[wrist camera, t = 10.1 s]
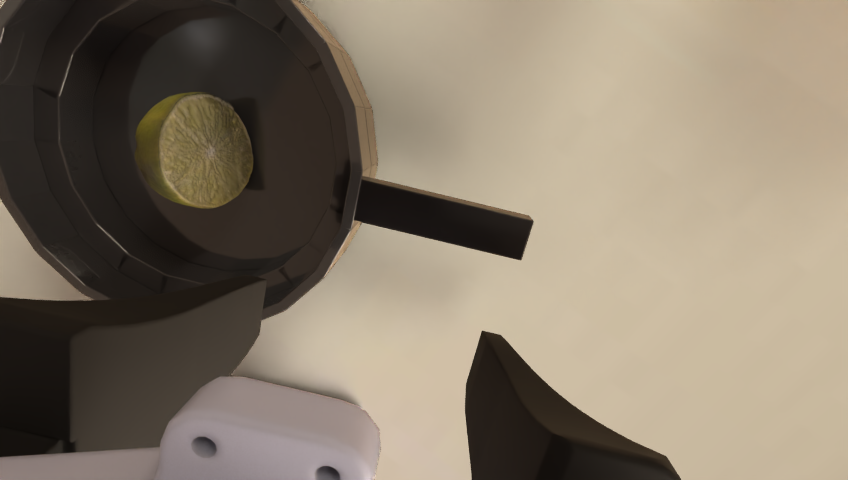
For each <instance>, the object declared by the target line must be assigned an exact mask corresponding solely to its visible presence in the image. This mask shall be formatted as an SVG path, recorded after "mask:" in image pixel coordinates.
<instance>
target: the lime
mask: <svg viewBox="0 0 848 480" xmlns="http://www.w3.org/2000/svg"><path fill="white" fill-rule="evenodd" d="M135 137H136V145H137V146H136V150H135V161H136V163H137V165H138V167H139V169H140V170H141V172H142V175H143V177H144V179H145V181H146V182H147V183H148V185H149V186H150V187H151V188H152V189H154V190H155V191H156V192H157V193H158V194H160V195H162V196H163V197H165V198H167V199H169V200H171V201H173V202H176V203H179V204H183V205H187V206H192V207H196V208H216V207H219V206H222V205H224V204H226V203H228V202H229V201H231V200H232V199H234V198H235V197H237V196H238V195H239V194H240V193H241V192H242V190H243V189H244V187H245V186H246V185H247V183H248V181H249V178H250V174H251V173H252V170H253V155H252V148H251V141H250V138H249V135H248V133H247V130H246V128H245V126H244V124H243V122H242V121H241V119H240V118H239V115H238V114H237V113H235V111H234V108H233V106H232V105H231V104H230V103H228V102H226V101H225V100H222V99H221V98H220V97H218V96H215V95H212V94H210V93H203V92H190V93H182V94H176V95H173V96H169V97H167V98H165V99H164V100H162V101H161V102H159V103H157V104H156V105H155V106H153V107H152V108H151V109H150V110H149V111H148V112H147V114H146V115H145V116H144V118H143V119H142V120H141V121H140V123H139V125H138V127H137V130H136V135H135Z"/></svg>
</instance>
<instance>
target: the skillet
mask: <svg viewBox="0 0 848 480" xmlns="http://www.w3.org/2000/svg"><path fill="white" fill-rule="evenodd" d="M190 92H203V93H210V94H212V95H215V96H218V97H220V98H221V99H222V100H225V101H226V102H228V103H230V104H231V105H232V106H233V108H234V111H235V113H237V114H238V115H239V118H240V119H241V121H242V122H243V124H244V126H245V128H246V130H247V133H248V135H249V138H250V141H251V148H252V155H253V170H252V173H251V174H250V178H249V181H248V183H247V185H246V186H245V187H244V189H243V190H242V192H241V193H240V194H239V195H238V196H237V197H235V198H234V199H232V200H231V201H229V202H228V203H226V204H224V205H222V206H219V207H216V208H196V207H192V206H187V205H183V204H179V203H176V202H173V201H171V200H169V199H167V198H165V197H163V196H162V195H160V194H158V193H157V192H156V191H155V190H154V189H152V188H151V187H150V186H149V185H148V183H147V182H146V181H145V179H144V177H143V175H142V172H141V170H140V169H139V167H138V165H137V163H136V161H135V150H136V146H137V145H136V137H135V135H136V130H137V127H138V125H139V123H140V121H141V120H142V119H143V118H144V116H145V115H146V114H147V112H148V111H149V110H150V109H151V108H152V107H153V106H155V105H156V104H157V103H159V102H161V101H162V100H164V99H165V98H167V97H169V96H173V95H176V94H182V93H190ZM377 166H378V155H377V146H376V137H375V128H374V119H373V110H372V107H371V104H370V102H369V100H368V97H367V95H366V93H365V90H364V88H363V86H362V83H361V81H360V79H359V76H358V74H357V72H356V69H355V67H354V65H353V63H352V60H351V58H350V57H349V55H348V53H347V52H346V51H345V50H344V49H343V48H342V46H341V45H340V44H339V43H338V42H337V40H336V39H335V38H334V37H333V36H332V34H331V33H330V32H329V31H328V30H327V29H326V27H325V26H324V25H323V24H322V23H321V21H320V20H319V19H318V18H317V17H316V16H315V14H314V13H313V12H312V11H311V10H310V9H308V8H307V7H306V6H305V5H303V4H302V3H301V2H300V1H298V0H6V2H5V3H4V4H3V6H2V7H1V8H0V198H1V200H2V202H3V204H4V205H5V207H6V208H7V210H8V211H9V213H10V214H11V216H12V217H13V219H14V220H15V222H16V223H17V225H18V226H19V228H20V229H21V231H22V232H23V234H24V235H25V237H26V238H27V240H28V241H29V243H30V244H31V246H32V247H33V249H34V250H35V251H37V254H39V255H40V256H41V257H42V258H43V259H44V260H45V261H46V262H47V263H48V264H50V265H51V266H52V267H53V268H54V269H55V270H56V271H57V272H58V273H59V274H61V275H62V276H63V277H64V278H65V279H66V280H67V281H68V282H69V283H70V284H72V285H73V286H74V287H75V288H76V289H77V290H78V291H79V292H81V293H82V294H84V295H86V296H88V297H90V298H91V299H93V300H109V299H125V298H135V297H143V296H151V295H158V294H164V293H169V292H174V291H178V290H183V289H188V288H192V287H197V286H201V285H205V284H209V283H213V282H217V281H221V280H225V279H229V278H233V277H238V276H244V275H251V276H255V277H259V278H263V279H267V282H266V289H265V297H264V304H263V311H262V318H261V320H263V319H266V318H269V317H271V316H274V315H276V314H279V313H282V312H284V311H285V310H287V309H288V308H289V307H291V306H292V305H293V304H294V303H295V302H296V301H298V300H299V299H300V298H301V297H302V296H303V295H305V294H306V293H307V292H308V291H309V290H310V289H312V288H313V287H314V286H315V285H316V284H318V283H319V282H320V281H321V280H322V279H323V278H324V277H325V276H326V275H327V274H328V272H329V271H330V270H331V269H332V267H333V266H334V265H335V263H336V262H337V261H338V260H339V258H340V257H341V256H342V255H343V253H344V252H345V251H346V249H347V248H348V246H349V244H350V242H351V241H352V239H353V237H354V235H355V234H356V232H357V230H358V229H359V227H360V225H361V223H362V222H359V221H355V214H356V209H357V204H358V199H359V194H360V188H361V183H362V179H364V178H365V177H370V178H374V179H375V176H376V171H377Z"/></svg>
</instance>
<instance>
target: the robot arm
mask: <svg viewBox="0 0 848 480" xmlns="http://www.w3.org/2000/svg"><path fill="white" fill-rule="evenodd" d="M266 282H267V279H263V278H259V277H255V276H251V275H244V276H238V277H233V278H229V279H225V280H221V281H217V282H213V283H209V284H205V285H201V286H197V287H192V288H188V289H183V290H178V291H174V292H169V293H164V294H158V295H151V296H143V297H135V298H125V299H109V300H93V301H53V300H32V299H18V298H4V297H0V480H375V474H376V469H377V465H378V460H379V455H380V450H381V446H380V432H379V428H378V427H377V425H376V424H375V423H374V421H373V420H372V419H371V417H370V416H369V415H368V413H367V412H366V411H365V410H363V409H362V408H361V407H360V406H358V405H355V404H351V403H348V402H346V401H344V400H340V399H336V398H332V397H328V396H323V395H319V394H315V393H311V392H306V391H302V390H298V389H294V388H290V387H285V386H281V385H277V384H273V383H269V382H264V381H260V380H256V379H252V378H247V377H238V376H229V375H230V374H231V373H232V372H233V371H234V370H235V368H236V367H237V366H238V365H239V364H240V363H241V361H242V360H243V359H244V358H245V356H246V355H247V353H248V352H249V350H250V349H251V347H252V346H253V344H254V342H255V341H256V339H257V337H258V336H259V333H260V325H261V318H262V311H263V304H264V297H265V289H266ZM465 415H466V425H467V435H468V444H469V454H470V463H471V473H472V480H681V478H680V477H679V475H678V474H677V472H676V471H675V469H674V468H673V466H672V464H671V463H670V461H669V460H668V458H667V457H666V456H664V455H662V454H660V453H658V452H655V451H653V450H651V449H649V448H647V447H644V446H642V445H640V444H638V443H636V442H633V441H631V440H629V439H627V438H625V437H624V436H622V435H620V434H618V433H616V432H614V431H613V430H611V429H609V428H607V427H606V426H604V425H602V424H600V423H599V422H597V421H596V420H594V419H592V418H591V417H589V416H588V415H586V414H585V413H583V412H582V411H580V410H579V409H578V408H576V407H575V406H573V405H572V404H571V403H569V402H568V401H567V400H566V399H564V398H563V397H562V396H561V395H559V394H558V393H557V392H556V391H554V390H553V389H552V388H551V387H550V386H549V385H548V384H547V383H546V382H545V381H543V380H542V379H541V378H540V377H539V376H538V375H537V374H536V373H535V372H534V371H533V370H532V369H531V368H530V367H529V365H528V364H527V363H526V362H525V361H524V360H523V359H522V358H521V357H520V356H519V355H518V353H517V352H516V351H515V350H514V349H513V348H512V347H511V345H510V344H509V343H508V342H507V341H506V340H505V339H504V338H503V337H502V336H501V335H498V334H494V333H490V332H485V331H482V333H481V336H480V340H479V343H478V346H477V350H476V353H475V356H474V360H473V363H472V366H471V369H470V373H469V376H468V379H467V383H466V398H465Z"/></svg>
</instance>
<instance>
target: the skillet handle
mask: <svg viewBox="0 0 848 480" xmlns="http://www.w3.org/2000/svg"><path fill="white" fill-rule="evenodd" d="M355 221H359V222H363V223H367V224H371V225H375V226H379V227H384V228H388V229H392V230H396V231H400V232H404V233H409V234H413V235H417V236H421V237H425V238H429V239H434V240H438V241H442V242H446V243H450V244H454V245H459V246H463V247H467V248H471V249H475V250H479V251H484V252H488V253H492V254H496V255H500V256H504V257H509V258H513V259H517V260H522V257H523V254H524V251H525V247H526V244H527V241H528V238H529V235H530V232H531V228H532V225H533V220H532V219H531V217H530V216H528V215H524V214H520V213H516V212H511V211H507V210H503V209H499V208H495V207H491V206H486V205H482V204H478V203H474V202H470V201H466V200H462V199H457V198H453V197H449V196H445V195H441V194H437V193H432V192H428V191H424V190H420V189H416V188H412V187H408V186H403V185H399V184H395V183H391V182H387V181H383V180H379V179H374V178H370V177H365V178H364V179H362V183H361V188H360V194H359V199H358V204H357V209H356V214H355Z"/></svg>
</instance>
